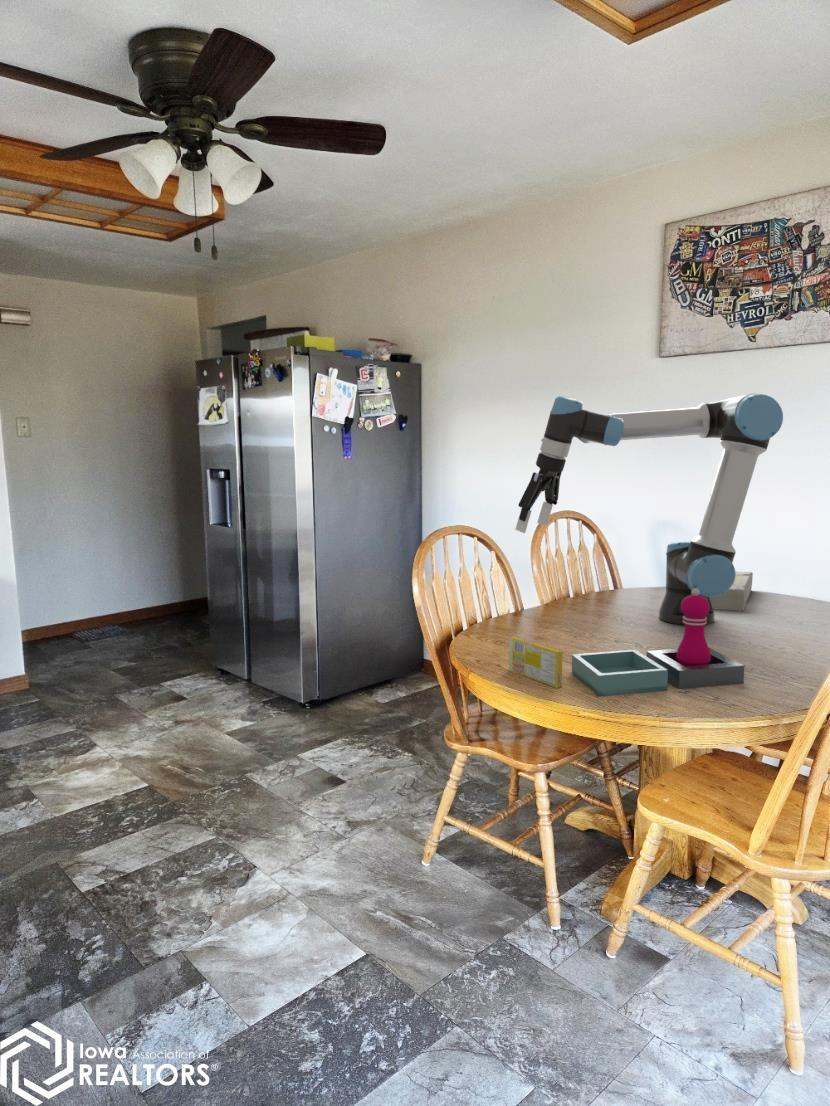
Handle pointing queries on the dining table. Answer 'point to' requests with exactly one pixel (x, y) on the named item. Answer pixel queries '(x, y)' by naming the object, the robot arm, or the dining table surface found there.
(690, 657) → the pepper mill
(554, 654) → the candy box
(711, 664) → the bore block
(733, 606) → the box
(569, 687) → the dining table surface
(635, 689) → the tray
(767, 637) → the dining table surface
